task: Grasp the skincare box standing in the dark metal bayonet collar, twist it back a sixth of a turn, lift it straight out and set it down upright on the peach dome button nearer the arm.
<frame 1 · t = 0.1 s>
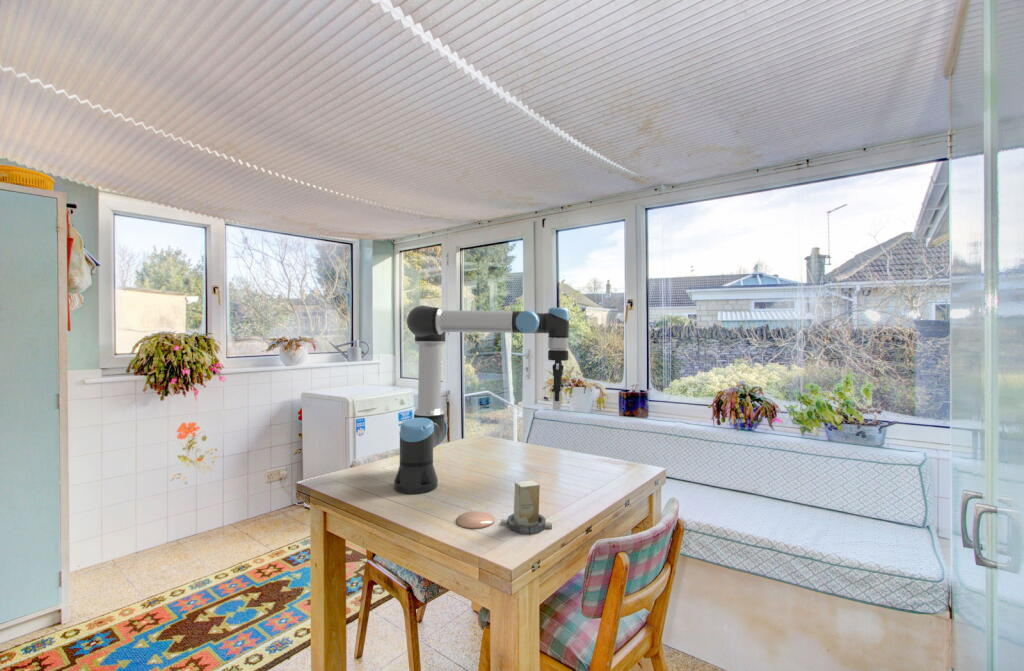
hand: (557, 407, 167), 28 cm above the table, fingers open, 13 cm apart
skincare box: (526, 526, 129), resting in bayonet collar
peach dome button: (475, 520, 132), on the table
bayonet collar: (526, 525, 129), on the table
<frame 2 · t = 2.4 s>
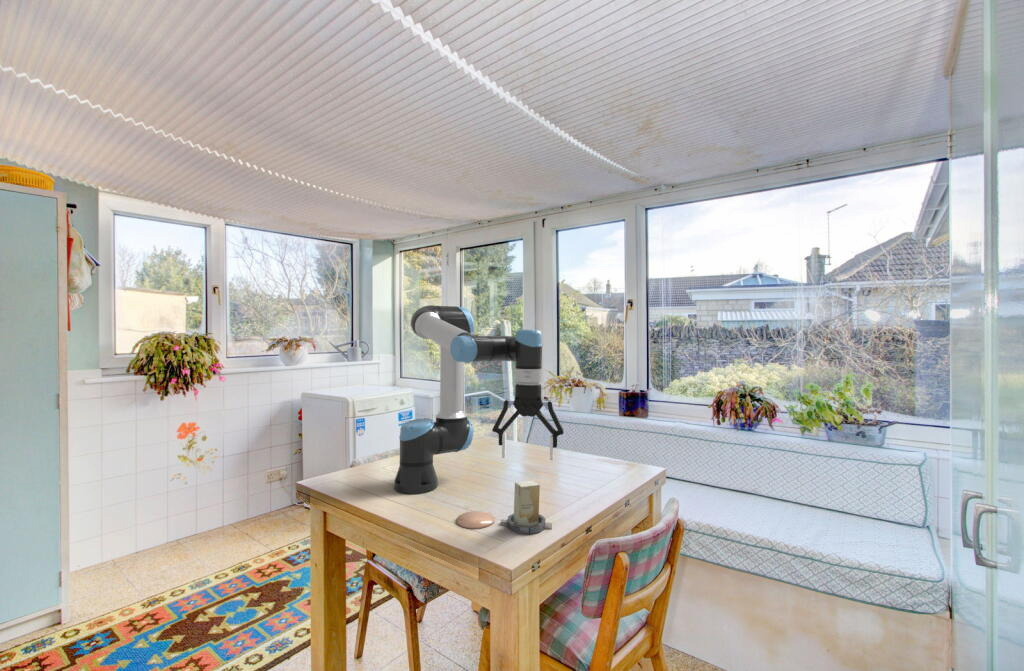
hand: (527, 458, 129), 19 cm above the table, fingers open, 13 cm apart
nothing on the table moved.
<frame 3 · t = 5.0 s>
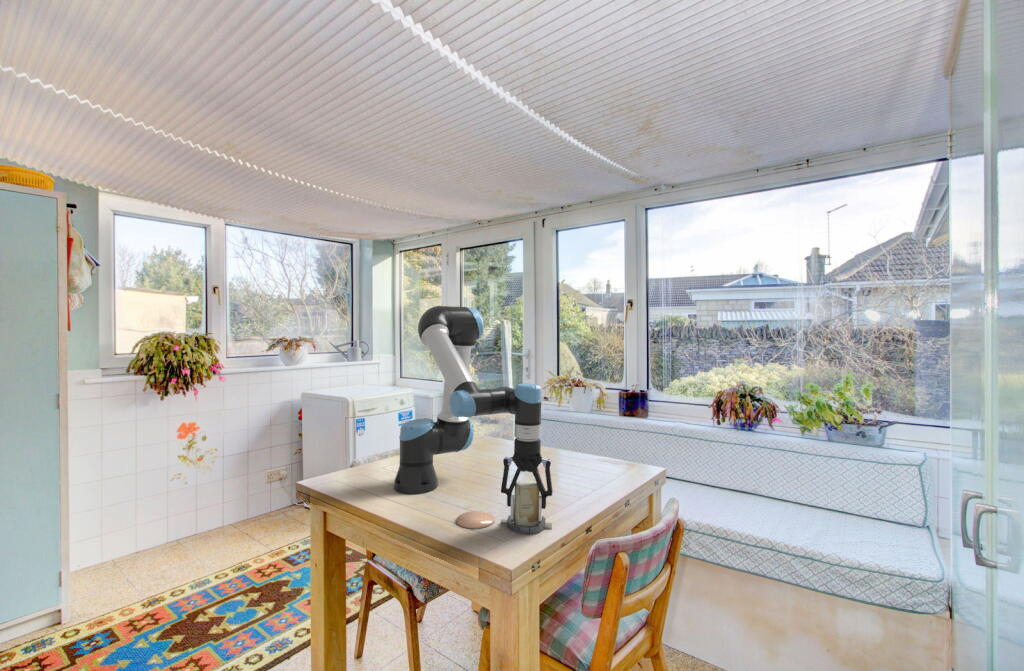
hand: (526, 518, 129), 2 cm above the table, fingers closed on skincare box, 7 cm apart
skincare box: (526, 526, 129), resting in bayonet collar, touching gripper
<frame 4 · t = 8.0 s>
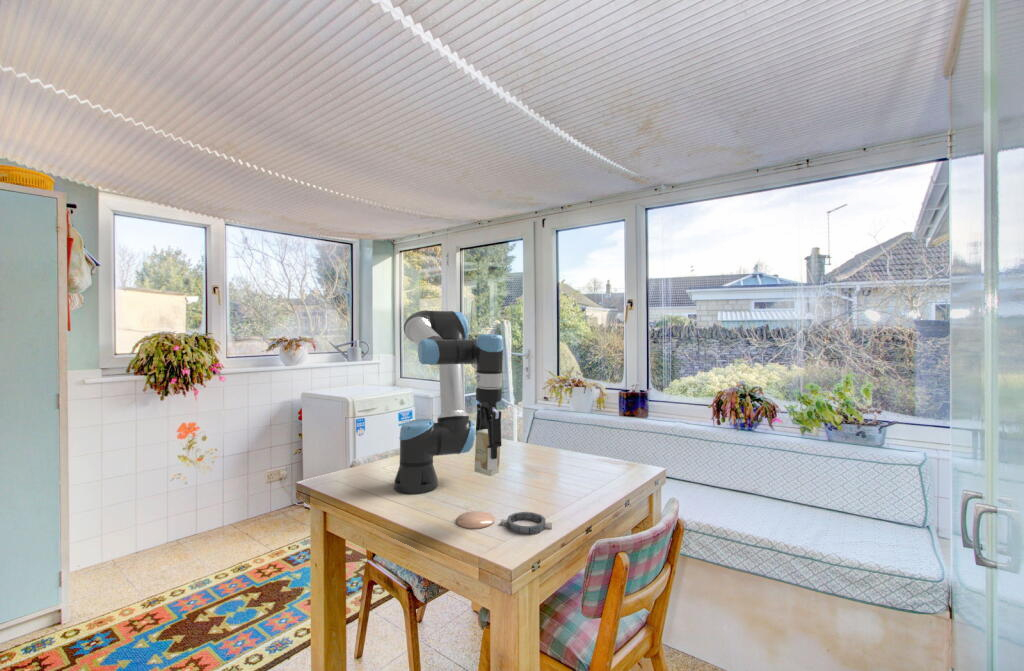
hand: (487, 465, 132), 16 cm above the table, fingers closed on skincare box, 7 cm apart
skincare box: (487, 473, 132), point 14 cm above the table, touching gripper
when the fingers open (4 cm above the table, at t = 11.5 s): skincare box drops 1 cm, resting on peach dome button.
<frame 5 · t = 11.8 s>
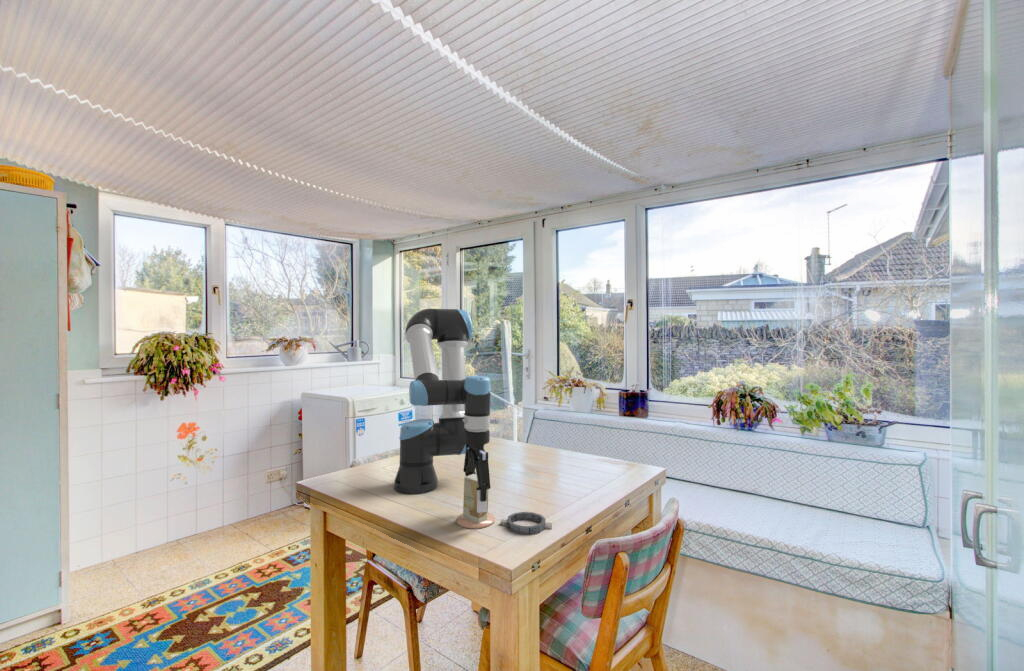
hand: (475, 504, 132), 5 cm above the table, fingers open, 10 cm apart
skincare box: (475, 519, 132), resting on peach dome button
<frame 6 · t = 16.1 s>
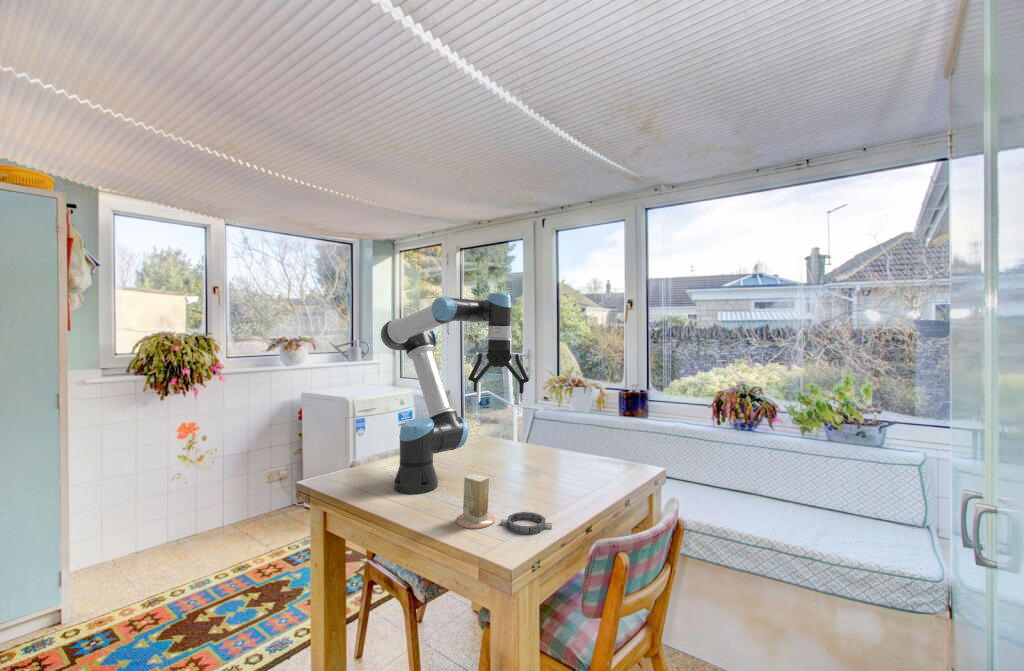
hand: (498, 402, 151), 32 cm above the table, fingers open, 13 cm apart
nothing on the table moved.
at the end: skincare box inside the target area on the peach dome button (0.2 cm from its centre), point 0.4 cm above the peach dome button's base; skincare box tilted 0°; the gripper is holding nothing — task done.
